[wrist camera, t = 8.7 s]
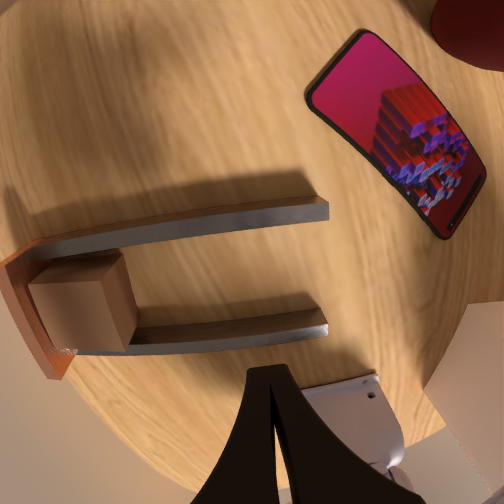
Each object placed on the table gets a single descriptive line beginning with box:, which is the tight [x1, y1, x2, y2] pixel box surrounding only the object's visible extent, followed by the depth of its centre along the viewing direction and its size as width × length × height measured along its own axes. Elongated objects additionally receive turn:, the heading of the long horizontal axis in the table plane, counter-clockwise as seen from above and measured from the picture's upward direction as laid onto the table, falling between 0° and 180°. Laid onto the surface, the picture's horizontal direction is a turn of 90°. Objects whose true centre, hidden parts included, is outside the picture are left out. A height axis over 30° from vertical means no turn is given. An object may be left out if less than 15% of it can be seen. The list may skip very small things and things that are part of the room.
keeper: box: [28, 254, 140, 352], centre depth 16 cm, size 6×5×4 cm
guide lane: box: [0, 196, 329, 380], centre depth 16 cm, size 20×9×5 cm, turn 96°
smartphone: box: [306, 31, 487, 240], centre depth 15 cm, size 8×1×15 cm
